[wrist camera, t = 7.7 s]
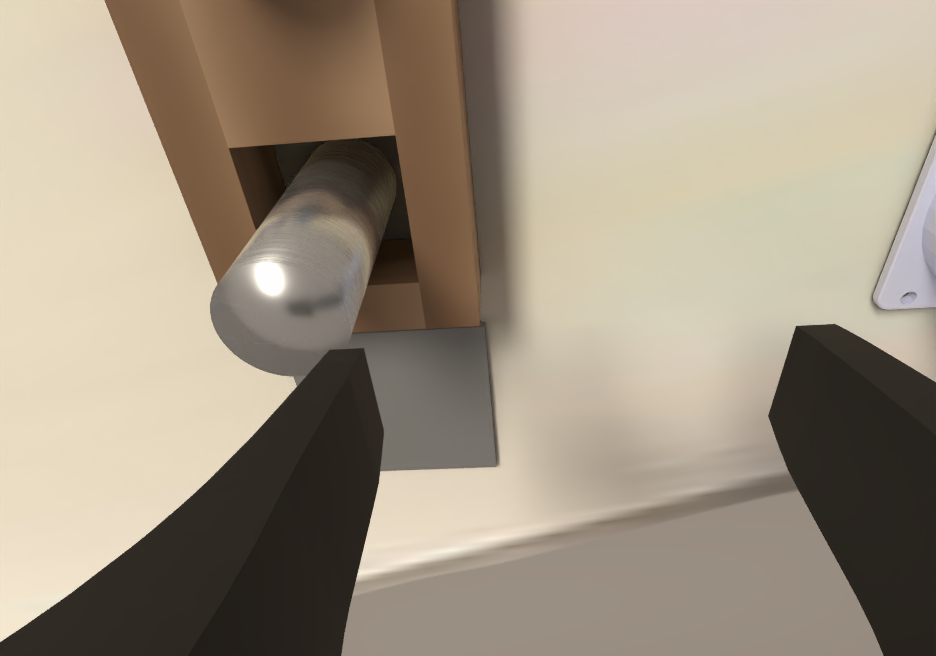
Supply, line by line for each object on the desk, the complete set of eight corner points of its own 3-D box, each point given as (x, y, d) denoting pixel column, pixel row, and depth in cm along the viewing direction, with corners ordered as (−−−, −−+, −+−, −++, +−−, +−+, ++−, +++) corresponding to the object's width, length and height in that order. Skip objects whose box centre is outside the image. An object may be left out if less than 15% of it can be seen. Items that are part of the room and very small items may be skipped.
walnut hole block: (423, -406, 12) (406, -491, 9) (480, 277, 21) (479, 325, 18) (48, -351, 12) (-62, -416, 10) (267, 290, 21) (239, 338, 19)
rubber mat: (484, 322, 22) (484, 326, 22) (496, 461, 27) (496, 466, 26) (282, 333, 23) (280, 337, 22) (328, 467, 27) (326, 472, 27)
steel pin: (388, 133, 18) (333, 258, 11) (403, 221, 20) (362, 373, 13) (295, 140, 18) (189, 267, 12) (317, 227, 20) (236, 379, 13)
